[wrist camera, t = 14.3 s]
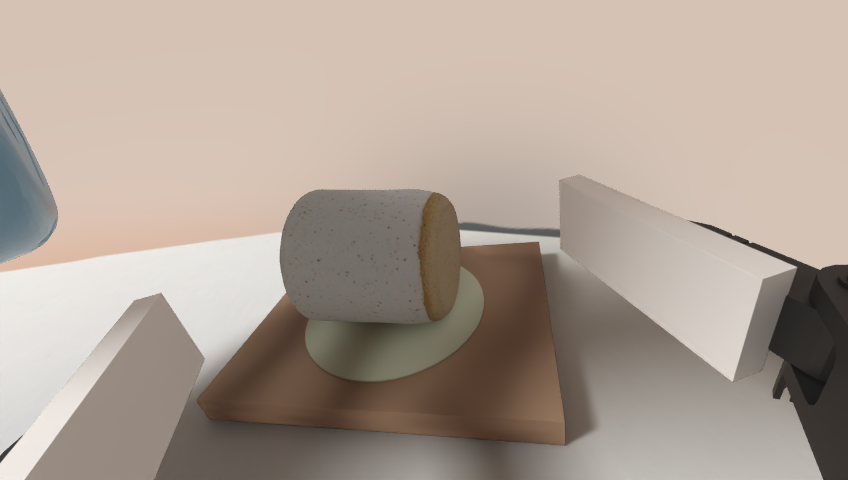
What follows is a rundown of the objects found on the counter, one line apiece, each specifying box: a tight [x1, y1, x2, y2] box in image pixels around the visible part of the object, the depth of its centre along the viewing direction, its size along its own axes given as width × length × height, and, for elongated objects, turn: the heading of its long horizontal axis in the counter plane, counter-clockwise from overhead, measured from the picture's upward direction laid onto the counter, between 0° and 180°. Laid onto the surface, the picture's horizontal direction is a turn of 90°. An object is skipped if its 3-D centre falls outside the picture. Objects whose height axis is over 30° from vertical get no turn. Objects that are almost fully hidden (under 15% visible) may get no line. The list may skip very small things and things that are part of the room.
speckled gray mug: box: [280, 189, 461, 324], centre depth 22 cm, size 11×8×8 cm
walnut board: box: [197, 242, 565, 445], centre depth 23 cm, size 18×14×2 cm
